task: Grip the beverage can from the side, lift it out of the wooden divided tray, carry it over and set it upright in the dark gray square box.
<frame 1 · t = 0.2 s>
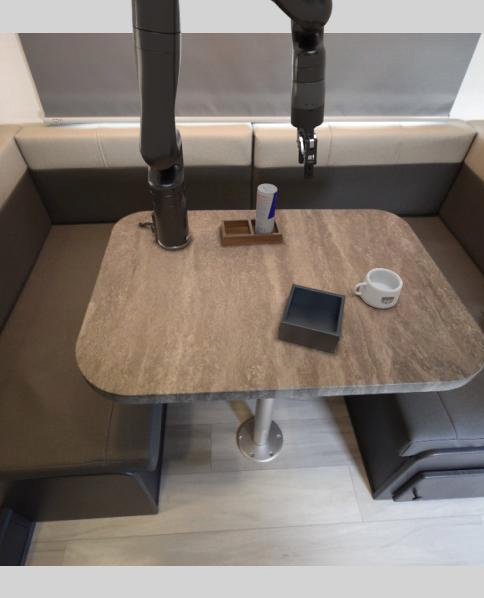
hand: (305, 170, 90), 22 cm above the table, tool pointing down, fingers open, 8 cm apart
beverage can: (263, 233, 108), resting on wooden divided tray
dark gray square box: (310, 325, 83), on the table
wooden divided tray: (250, 235, 108), on the table
mug: (372, 297, 90), on the table
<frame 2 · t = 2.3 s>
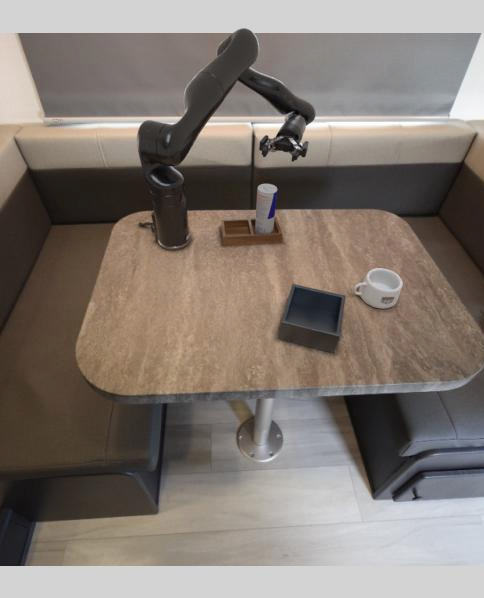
hand: (278, 156, 101), 20 cm above the table, tool horizontal, fingers open, 8 cm apart
nothing on the table moved.
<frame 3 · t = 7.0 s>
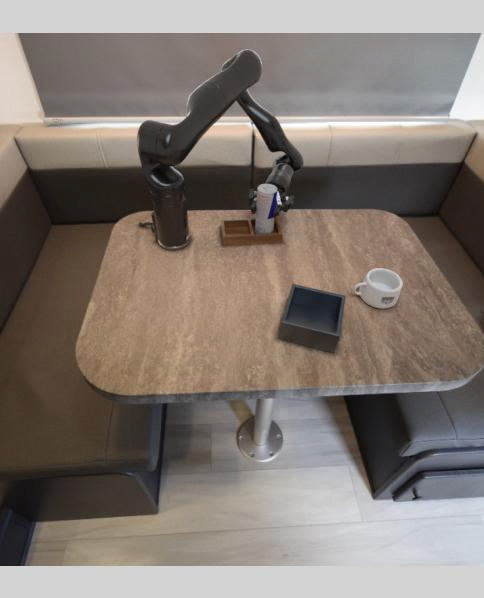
hand: (263, 213, 100), 9 cm above the table, tool horizontal, fingers closed on beverage can, 5 cm apart
beverage can: (263, 233, 108), resting on wooden divided tray, touching gripper
everything else where it was.
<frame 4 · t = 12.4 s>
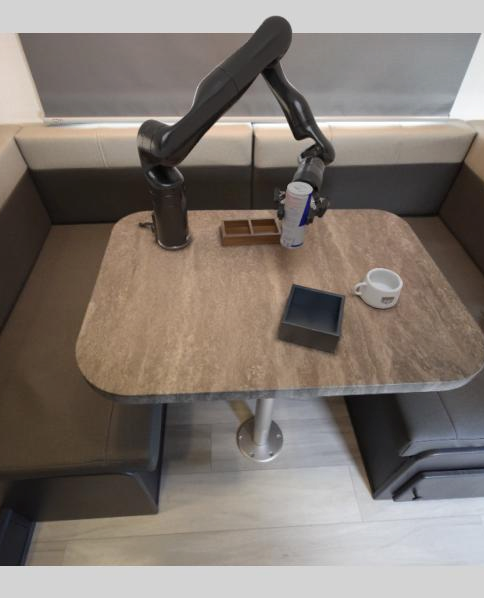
hand: (294, 219, 79), 20 cm above the table, tool horizontal, fingers closed on beverage can, 5 cm apart
beverage can: (291, 243, 87), point 11 cm above the table, touching gripper
everything else where it was.
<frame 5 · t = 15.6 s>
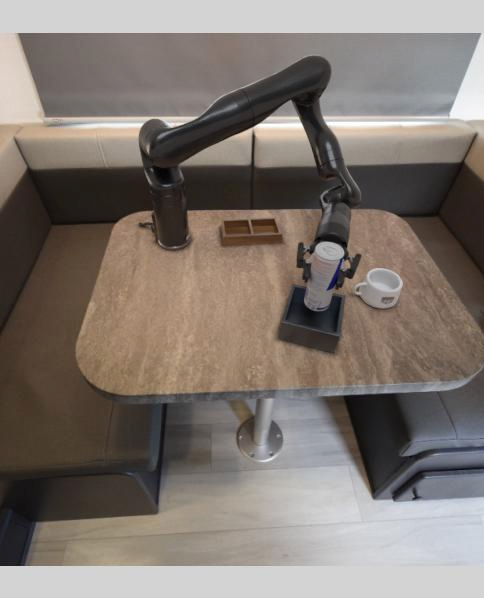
hand: (322, 283, 70), 16 cm above the table, tool horizontal, fingers closed on beverage can, 5 cm apart
beverage can: (316, 303, 78), point 7 cm above the table, touching gripper
everything else where it was.
when the fingers open (9 cm above the table, at t = 18.0 s): beverage can stays where it is, resting on dark gray square box.
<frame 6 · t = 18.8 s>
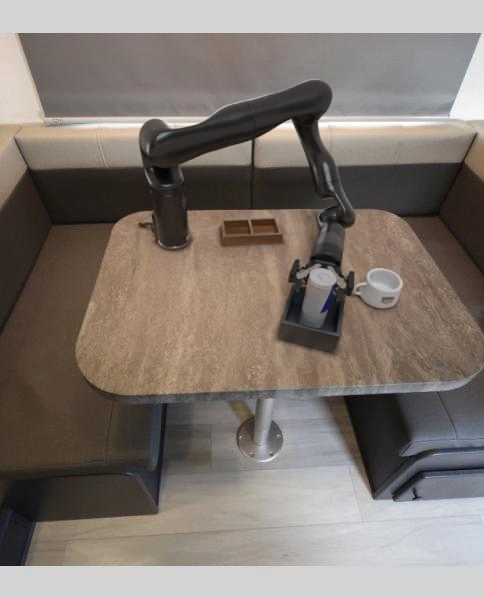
hand: (316, 299, 74), 10 cm above the table, tool horizontal, fingers open, 8 cm apart
beverage can: (310, 324, 83), resting on dark gray square box
everything else where it was.
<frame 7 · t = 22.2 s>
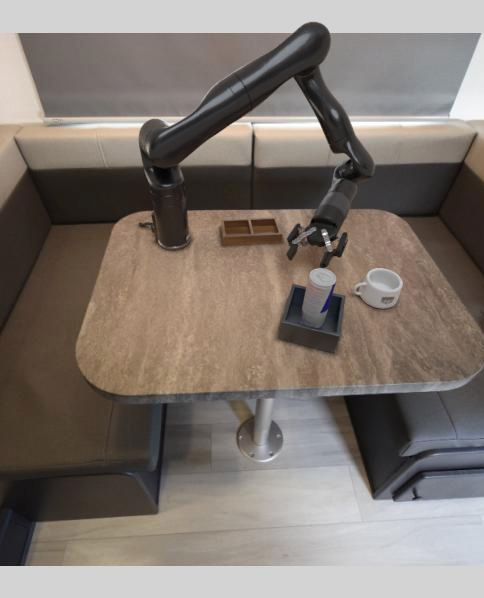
hand: (305, 262, 85), 9 cm above the table, tool tilted 70°, fingers open, 8 cm apart
nothing on the table moved.
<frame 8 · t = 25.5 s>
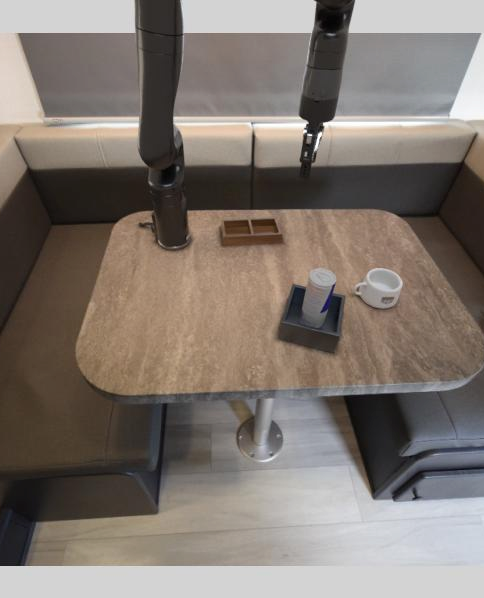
hand: (307, 169, 82), 26 cm above the table, tool pointing down, fingers open, 8 cm apart
nothing on the table moved.
at the end: beverage can inside the target area in the dark gray square box (0.2 cm from its centre), point 0.4 cm above the dark gray square box's base; beverage can tilted 0°; the gripper is holding nothing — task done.
